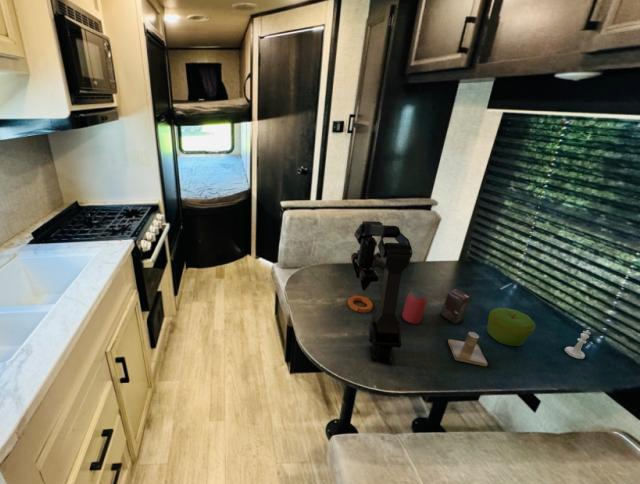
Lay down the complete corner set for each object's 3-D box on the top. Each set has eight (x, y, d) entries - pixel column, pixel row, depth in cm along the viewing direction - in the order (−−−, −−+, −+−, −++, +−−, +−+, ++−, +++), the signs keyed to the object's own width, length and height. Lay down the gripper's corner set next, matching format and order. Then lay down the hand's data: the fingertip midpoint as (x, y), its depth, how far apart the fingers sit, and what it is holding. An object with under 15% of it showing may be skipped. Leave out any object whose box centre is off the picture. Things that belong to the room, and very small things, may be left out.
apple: (512, 329, 117) (523, 304, 113) (534, 353, 106) (548, 327, 102) (475, 325, 119) (485, 301, 115) (493, 349, 108) (505, 323, 104)
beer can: (418, 326, 119) (426, 301, 114) (400, 319, 122) (406, 294, 117) (421, 317, 124) (429, 292, 118) (403, 311, 127) (410, 286, 122)
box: (440, 315, 125) (448, 290, 120) (447, 312, 126) (456, 287, 121) (454, 324, 120) (463, 299, 115) (462, 321, 121) (471, 296, 116)
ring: (374, 313, 126) (375, 309, 126) (351, 311, 127) (351, 308, 127) (368, 299, 135) (368, 296, 134) (346, 298, 135) (346, 295, 135)
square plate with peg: (486, 366, 102) (495, 347, 98) (455, 360, 104) (462, 341, 101) (477, 346, 109) (484, 328, 106) (447, 341, 112) (454, 323, 108)
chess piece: (586, 361, 103) (601, 338, 99) (566, 355, 106) (580, 332, 101) (582, 351, 107) (595, 328, 103) (562, 345, 109) (575, 323, 105)
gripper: (396, 263, 115) (388, 298, 122) (380, 241, 132) (374, 273, 139) (365, 262, 116) (358, 296, 123) (353, 240, 133) (348, 272, 139)
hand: (360, 283), depth 131 cm, fingers open, 9 cm apart
